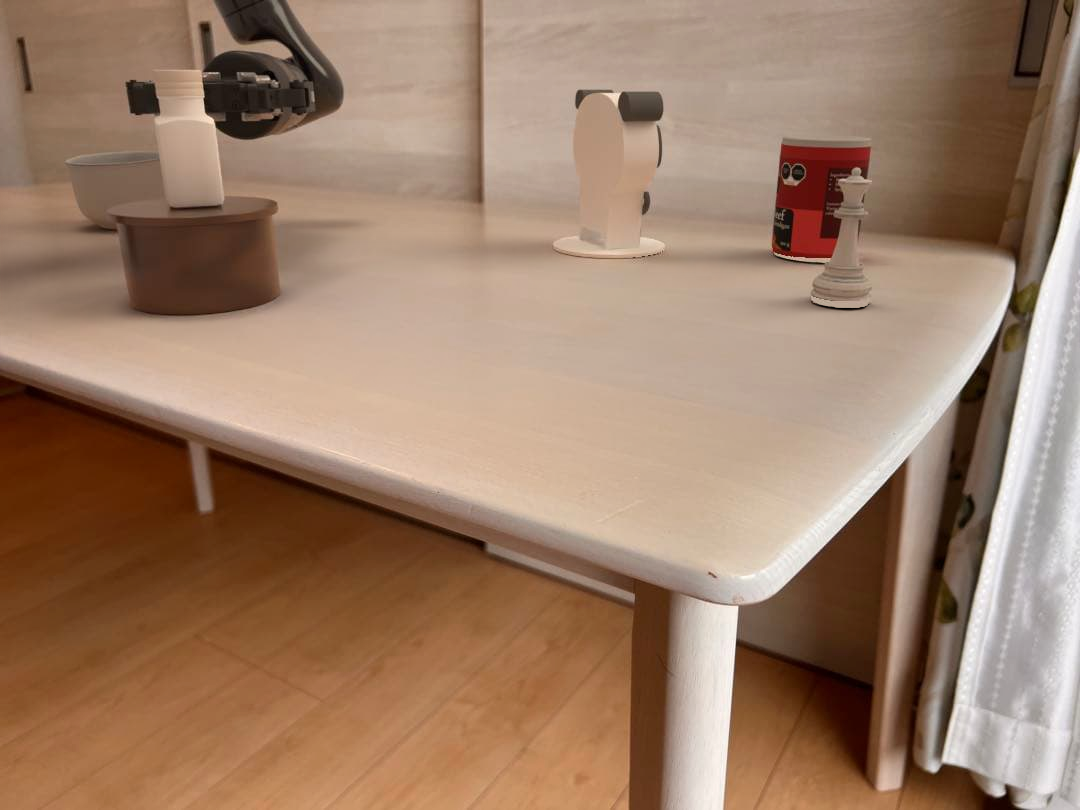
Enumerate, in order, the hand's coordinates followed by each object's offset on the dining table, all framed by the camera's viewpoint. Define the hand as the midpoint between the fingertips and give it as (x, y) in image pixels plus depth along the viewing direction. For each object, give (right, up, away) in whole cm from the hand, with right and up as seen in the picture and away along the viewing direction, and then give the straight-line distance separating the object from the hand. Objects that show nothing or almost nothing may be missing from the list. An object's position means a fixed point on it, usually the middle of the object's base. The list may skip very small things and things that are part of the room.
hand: (196, 99), depth 65 cm
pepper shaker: (0, -8, 0) cm, 8 cm away
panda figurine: (+33, -8, +22) cm, 40 cm away
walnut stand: (0, -15, +2) cm, 15 cm away
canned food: (+52, -9, +18) cm, 56 cm away
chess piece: (+49, -16, +1) cm, 51 cm away
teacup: (-23, -2, +36) cm, 42 cm away
